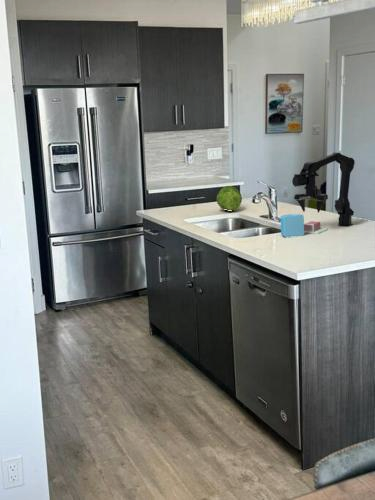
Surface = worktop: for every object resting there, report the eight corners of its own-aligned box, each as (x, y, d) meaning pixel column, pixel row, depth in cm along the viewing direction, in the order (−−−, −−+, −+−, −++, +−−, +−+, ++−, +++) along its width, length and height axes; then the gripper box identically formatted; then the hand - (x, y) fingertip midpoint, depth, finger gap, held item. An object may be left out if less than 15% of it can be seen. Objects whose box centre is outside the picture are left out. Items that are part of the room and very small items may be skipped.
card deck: (320, 228, 345) (320, 222, 344) (312, 231, 338) (312, 224, 337) (311, 228, 348) (310, 221, 348) (303, 231, 342) (303, 224, 341)
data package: (300, 234, 337) (300, 213, 334) (304, 235, 333) (303, 214, 330) (281, 236, 334) (280, 215, 332) (284, 238, 330) (283, 216, 327)
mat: (327, 229, 343) (327, 228, 343) (317, 233, 334) (317, 232, 334) (306, 228, 352) (306, 227, 352) (295, 232, 343) (295, 231, 343)
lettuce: (233, 207, 447) (232, 182, 443) (246, 211, 425) (245, 185, 421) (211, 210, 441) (209, 185, 437) (223, 214, 420) (221, 188, 416)
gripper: (332, 183, 339) (332, 210, 342) (303, 182, 350) (303, 208, 354) (322, 185, 330) (323, 213, 334) (293, 185, 342) (294, 212, 346)
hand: (311, 211), depth 342 cm, fingers open, 9 cm apart
